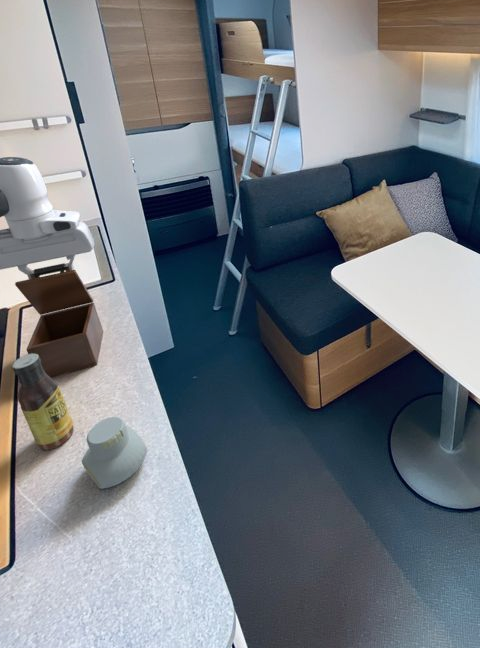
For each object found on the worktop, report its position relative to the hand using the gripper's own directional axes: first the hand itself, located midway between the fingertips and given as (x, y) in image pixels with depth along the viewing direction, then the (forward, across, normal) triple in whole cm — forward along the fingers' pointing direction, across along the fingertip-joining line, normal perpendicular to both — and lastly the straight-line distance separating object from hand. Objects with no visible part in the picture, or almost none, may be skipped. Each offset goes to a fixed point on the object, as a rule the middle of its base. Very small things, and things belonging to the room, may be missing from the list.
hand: (52, 274), depth 101 cm
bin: (+21, 0, -5) cm, 22 cm away
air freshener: (+22, +13, -44) cm, 51 cm away
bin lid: (+5, 0, -2) cm, 5 cm away
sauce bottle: (+22, +1, -31) cm, 38 cm away
